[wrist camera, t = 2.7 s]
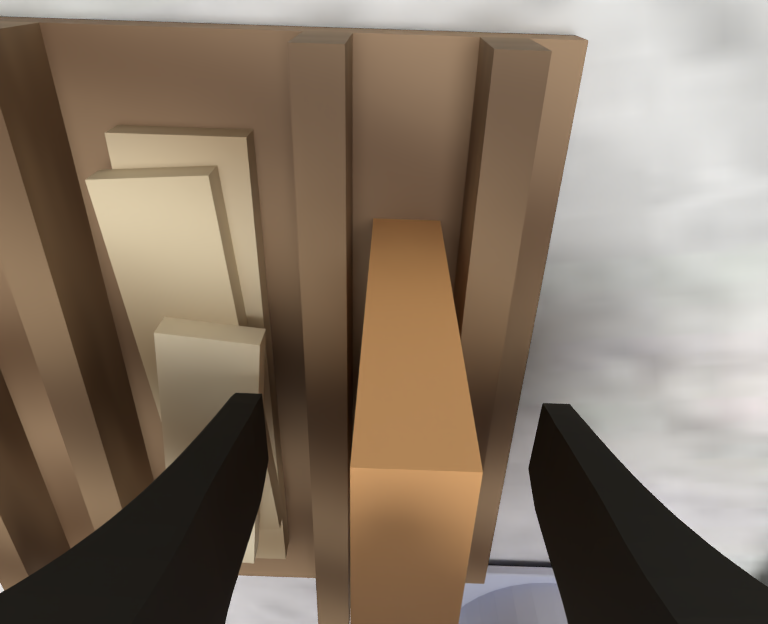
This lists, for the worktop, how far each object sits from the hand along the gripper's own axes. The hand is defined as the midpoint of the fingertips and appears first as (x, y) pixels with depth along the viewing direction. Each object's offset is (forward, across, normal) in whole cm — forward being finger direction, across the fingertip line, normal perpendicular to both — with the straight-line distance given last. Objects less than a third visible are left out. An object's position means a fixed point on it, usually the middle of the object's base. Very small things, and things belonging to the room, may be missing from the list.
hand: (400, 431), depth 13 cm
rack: (+4, +4, +1) cm, 6 cm away
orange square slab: (+3, 0, 0) cm, 3 cm away
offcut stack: (+3, +5, +1) cm, 6 cm away
